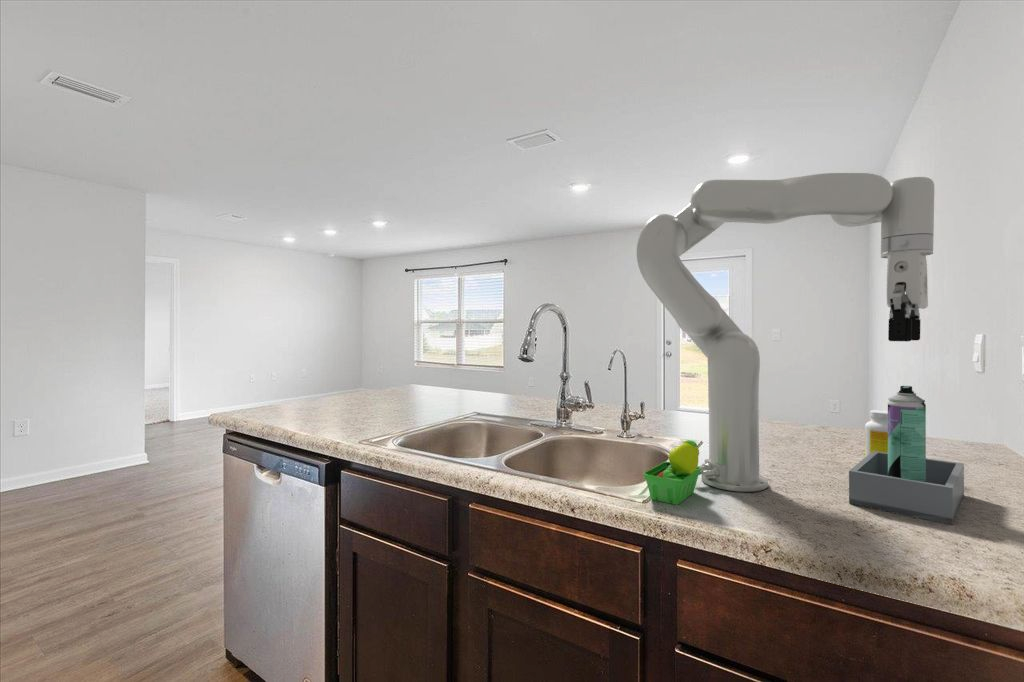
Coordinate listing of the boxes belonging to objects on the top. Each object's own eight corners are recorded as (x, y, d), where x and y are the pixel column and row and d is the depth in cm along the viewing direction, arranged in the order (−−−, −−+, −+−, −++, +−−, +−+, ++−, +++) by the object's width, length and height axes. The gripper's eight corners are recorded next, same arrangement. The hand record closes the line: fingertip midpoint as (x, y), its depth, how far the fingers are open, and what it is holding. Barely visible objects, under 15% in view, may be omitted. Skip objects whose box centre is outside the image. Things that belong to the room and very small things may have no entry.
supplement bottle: (908, 472, 106) (908, 414, 106) (874, 471, 107) (874, 413, 107) (891, 464, 112) (891, 409, 112) (859, 463, 114) (859, 409, 113)
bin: (952, 525, 78) (952, 488, 78) (849, 503, 88) (848, 470, 88) (963, 494, 92) (963, 463, 91) (873, 479, 102) (873, 450, 102)
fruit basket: (665, 484, 101) (664, 431, 100) (708, 493, 95) (708, 436, 95) (641, 500, 92) (641, 441, 92) (688, 510, 86) (688, 447, 86)
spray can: (919, 490, 91) (919, 385, 91) (930, 499, 86) (930, 388, 86) (884, 487, 94) (884, 384, 93) (892, 495, 89) (892, 386, 88)
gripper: (926, 239, 80) (924, 342, 81) (939, 250, 92) (937, 340, 93) (870, 245, 86) (869, 341, 86) (889, 255, 98) (888, 339, 98)
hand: (904, 340), depth 89 cm, fingers open, 9 cm apart
